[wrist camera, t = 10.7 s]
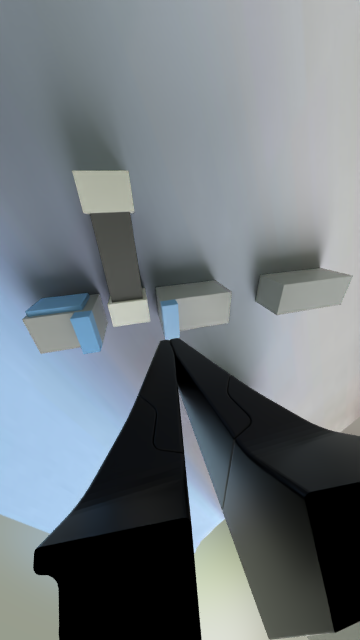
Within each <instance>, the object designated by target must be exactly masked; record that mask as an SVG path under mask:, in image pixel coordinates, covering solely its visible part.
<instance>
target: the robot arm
mask: <svg viewBox="0 0 360 640" xmlns="http://www.w3.org/2000/svg"><path fill="white" fill-rule="evenodd" d="M178 389H179V392H180V395H181V397H182V400H183V403H184V406H185V409H186V411H187V414H188V417H189V420H190V422H191V425H192V428H193V431H194V433H195V436H196V439H197V442H198V444H199V447H200V450H201V453H202V456H203V458H204V461H205V464H206V467H207V469H208V472H209V475H210V478H211V480H212V483H213V486H214V489H215V492H216V494H217V497H218V500H219V503H220V505H221V508H222V510H223V514H224V517H225V519H226V522H227V525H228V527H229V530H230V533H231V535H232V538H233V541H234V544H235V547H236V550H237V552H238V555H239V558H240V561H241V563H242V566H243V569H244V571H245V574H246V577H247V580H248V583H249V586H250V588H251V591H252V594H253V597H254V599H255V602H256V605H257V608H258V610H259V613H260V616H261V619H262V622H263V624H264V627H265V630H266V632H267V635H268V638H269V639H270V640H271V639H281V638H290V637H299V636H307V637H308V639H309V640H360V436H356V435H350V434H345V433H339V432H335V431H331V430H328V429H325V428H322V427H319V426H317V425H315V424H313V423H310V422H309V421H307V420H305V419H303V418H301V417H299V416H298V415H296V414H294V413H292V412H291V411H289V410H287V409H285V408H284V407H282V406H280V405H278V404H277V403H275V402H273V401H271V400H270V399H268V398H266V397H265V396H263V395H261V394H260V393H258V392H256V391H255V390H253V389H251V388H250V387H248V386H247V385H245V384H244V383H242V382H241V381H239V380H238V379H236V378H235V377H233V376H232V375H230V374H229V373H228V372H226V371H225V370H223V369H222V368H220V367H219V366H218V365H216V364H215V363H213V362H212V361H210V360H209V359H208V358H206V357H205V356H203V355H202V354H200V353H199V352H198V351H196V350H195V349H193V348H192V347H190V346H189V345H188V344H186V343H185V342H183V341H182V340H180V339H179V338H174V339H170V341H169V340H163V341H160V343H159V345H158V348H157V350H156V352H155V355H154V357H153V360H152V362H151V365H150V367H149V369H148V372H147V374H146V377H145V379H144V382H143V384H142V386H141V389H140V391H139V394H138V396H137V398H136V401H135V403H134V405H133V408H132V410H131V412H130V414H129V416H128V419H127V420H126V422H125V424H124V426H123V428H122V430H121V432H120V434H119V435H118V437H117V439H116V441H115V443H114V444H113V446H112V448H111V450H110V451H109V453H108V455H107V457H106V459H105V460H104V462H103V464H102V466H101V467H100V469H99V471H98V473H97V475H96V476H95V478H94V480H93V482H92V483H91V485H90V487H89V488H88V490H87V491H86V493H85V494H84V496H83V497H82V499H81V500H80V501H79V503H78V504H77V505H76V507H75V508H74V509H73V510H72V512H71V513H70V514H69V515H68V516H67V517H66V518H65V519H64V520H63V521H62V522H61V523H60V525H59V526H58V527H57V528H56V529H55V530H54V531H53V532H52V533H51V534H50V535H49V536H48V537H47V538H46V539H45V540H44V541H43V542H42V543H41V544H40V545H39V546H38V547H37V549H36V550H35V552H34V567H33V568H34V571H35V573H36V574H38V575H49V576H51V577H53V578H54V579H55V580H56V581H57V583H58V588H59V640H201V629H200V618H199V607H198V595H197V583H196V573H195V561H194V549H193V538H192V526H191V516H190V506H189V497H188V487H187V477H186V467H185V457H184V446H183V435H182V425H181V414H180V404H179V393H178Z"/></svg>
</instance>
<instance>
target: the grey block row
mask: <svg viewBox="0 0 360 640" xmlns="http://www.w3.org/2000/svg"><path fill="white" fill-rule="evenodd" d="M352 277H353V276H351V275H347V274H343V273H339V272H335V271H331V270H327V269H323V268H315V269H306V270H298V271H289V272H281V273H272V274H264V275H260V279H259V284H258V290H257V296H256V302H257V303H259V304H260V305H262V306H264V307H265V308H267V309H268V310H270V311H271V312H273V313H274V314H276V315H280V314H287V313H293V312H299V311H305V310H311V309H317V308H323V307H329V306H335V305H341V303H342V300H343V298H344V296H345V293H346V291H347V289H348V286H349V284H350V282H351V279H352ZM155 288H156V296H157V305H158V313H159V318H160V322H161V325H162V329H163V333H164V336H165V340H170V339H174V338H180V331H183V330H189V329H195V328H201V327H207V326H213V325H219V324H225V323H229V315H230V304H231V294H232V292H231V291H230V290H228V289H227V288H226V287H224V286H223V285H221V284H220V283H218V282H217V281H216V280H213V281H205V282H196V283H188V284H179V285H171V286H162V287H155ZM25 313H26V315H27V316H26V317H24V318H23V319H22V320H23V322H24V324H25V326H26V327H27V329H28V331H29V333H30V335H31V337H32V338H33V340H34V342H35V344H36V346H37V348H38V349H39V351H40V353H41V354H42V353H48V352H55V351H61V350H67V349H73V348H79V347H81V348H82V351H83V353H84V354H87V353H93V352H99V351H101V348H102V344H103V340H104V336H105V332H106V328H107V324H108V322H107V318H106V315H105V311H104V308H103V304H102V301H101V297H100V294H94V295H89V293H83V294H74V295H66V296H57V297H48V298H41V299H40V300H39V301H38V302H36V303H35V304H34V305H33V306H32V307H30V308H29V309H28V310H27V311H26V312H25Z"/></svg>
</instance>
